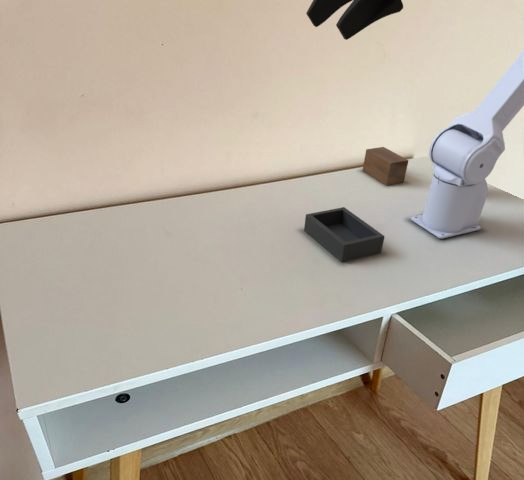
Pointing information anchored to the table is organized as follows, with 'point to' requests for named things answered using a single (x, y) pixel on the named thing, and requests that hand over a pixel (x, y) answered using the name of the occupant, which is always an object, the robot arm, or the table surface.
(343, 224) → the dark gray rectangular tray
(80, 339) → the table surface
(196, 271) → the table surface
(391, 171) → the walnut block
